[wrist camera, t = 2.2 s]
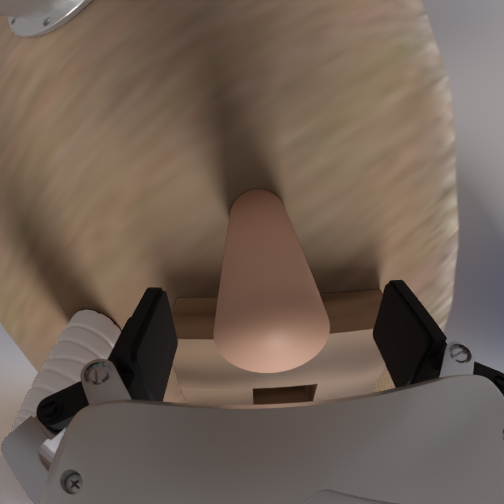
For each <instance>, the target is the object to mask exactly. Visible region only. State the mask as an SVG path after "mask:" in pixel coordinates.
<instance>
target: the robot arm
mask: <svg viewBox="0 0 504 504" xmlns="http://www.w3.org/2000/svg"><path fill="white" fill-rule="evenodd" d="M91 1H92V0H0V15H5V16H8V24H9V27H10V29H11V31H12V32H13V33H14V34H16V35H18V36H22V37H27V38H28V37H37V36H41V35H44V34H46V33H48V32H51V31H53V30H55V29H56V28H58V27H60V26H61V25H63V24H64V23H66V22H67V21H69V20H70V19H71V18H72V17H74V16H75V15H77V14H78V13H79V12H80V11H81V10H82V9H83V8H84V7H86V6H87V5H88V4H89V3H90V2H91ZM373 339H374V341H375V343H376V345H377V347H378V349H379V351H380V354H381V356H382V358H383V360H384V362H385V364H386V367H387V369H388V371H389V373H390V376H391V378H392V380H393V382H394V385H395V387H396V388H394V389H389V390H384V391H379V392H374V393H369V394H363V395H357V396H350V397H344V398H337V399H329V400H320V401H311V402H300V403H286V404H266V405H210V404H189V403H174V402H163V398H164V394H165V390H166V387H167V383H168V379H169V375H170V371H171V368H172V364H173V361H174V357H175V353H176V350H177V346H178V339H177V335H176V331H175V327H174V323H173V319H172V314H171V310H170V306H169V301H168V297H167V293H166V291H163V290H162V288H147V289H146V291H145V293H144V295H143V297H142V298H141V300H140V302H139V304H138V306H137V308H136V310H135V311H134V313H133V315H132V317H130V318H129V319H128V320H127V322H126V324H125V326H124V328H123V330H122V332H121V334H120V335H119V337H118V339H117V341H116V343H115V345H114V347H113V349H112V351H111V353H110V355H109V357H108V359H96V360H92V361H91V362H89V363H87V364H86V365H85V366H84V367H83V369H82V370H81V374H80V378H81V381H79V382H77V383H75V384H73V385H71V386H69V387H67V388H65V389H62V390H60V391H58V392H56V393H54V394H52V395H50V396H47V397H46V398H44V399H42V401H41V402H40V403H39V404H38V406H37V410H36V414H37V415H36V416H35V417H33V416H32V415H31V416H30V417H29V418H28V419H26V420H25V421H24V422H23V423H22V424H20V425H19V426H18V427H17V428H16V429H15V430H13V431H12V432H11V433H10V434H9V435H8V436H7V437H5V438H4V440H3V441H2V445H1V451H2V454H3V456H4V458H5V460H6V462H7V464H8V465H9V467H10V469H11V470H12V472H13V474H14V475H15V477H16V479H17V480H18V482H19V483H20V485H21V486H22V488H23V489H24V491H25V492H26V494H27V495H28V497H29V498H30V499H31V501H32V502H33V504H504V374H503V373H501V372H499V371H497V370H494V369H492V368H489V367H487V366H484V365H482V364H480V363H477V362H475V361H474V359H475V357H474V353H473V351H472V349H471V348H470V347H469V346H468V345H466V344H465V343H462V342H459V341H453V342H450V343H449V344H448V345H447V343H446V342H445V341H446V339H447V338H446V336H445V335H444V333H443V332H442V330H441V329H440V328H439V326H438V325H437V324H436V322H435V321H434V320H433V318H432V317H431V315H430V314H429V313H428V312H427V310H426V309H425V308H424V306H423V305H422V304H421V302H420V301H419V300H418V299H417V297H416V296H415V295H414V293H413V292H412V291H411V290H410V288H409V287H408V286H407V285H406V284H405V282H404V281H403V280H392V281H389V283H388V284H386V286H385V289H384V293H383V297H382V300H381V304H380V308H379V311H378V315H377V318H376V322H375V325H374V329H373Z"/></svg>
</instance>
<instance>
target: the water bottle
mask: <svg viewBox="0 0 504 504" xmlns="http://www.w3.org/2000/svg"><path fill="white" fill-rule="evenodd" d="M120 334H121V330H120V329H119V328H118V326H117V325H115V324H114V323H113V321H112V320H111V319H109V318H108V317H106V316H105V315H103V314H100V313H99V314H98V313H97V312H96V311H93V310H83V311H82V310H81V311H78V312H77V313H75V314H74V316H73V317H72V319H71V320H70V322H69V323H68V324H67V326H66V328H65V330H64V331H63V332H62V334H61V335H60V337H59V339H58V341H57V344H55V345H54V347H53V348H52V350H51V351H50V353H49V356H48V359H47V360H45V362H44V363H43V365H42V367H41V371H40V372H39V373H38V374H37V376H36V377H35V380H34V381H33V384H32V388H31V389H30V390H29V391H28V392H27V395H26V396H25V398H24V401H23V403H22V406H21V410H19V412H18V414H17V416H18V417H16V418H15V420H14V425H12V427H11V432H12V431H13V430H15V429H16V428H17V427H18V426H19V425H20V424H22V423H23V422H24V421H25V420H26V419H28V418H29V417H30V416H31V415H32V416H33V417H35V416H36V415H37V414H36V410H37V406H38V404H39V403H40V402H41V401H42V399H44V398H46V397H47V396H50V395H52V394H54V393H56V392H58V391H60V390H62V389H65V388H67V387H69V386H71V385H73V384H75V383H77V382H79V381H81V378H80V374H81V370H82V369H83V367H84V366H85V365H86V364H87V363H89V362H91V361H92V360H96V359H108V357H109V355H110V353H111V351H112V349H113V347H114V345H115V343H116V341H117V339H118V337H119V335H120ZM11 432H10V433H11ZM10 433H9V434H10ZM9 434H8V435H9ZM0 504H33V502H32V501H31V499H30V498H29V497H28V495H27V494H26V492H25V491H24V489H23V488H22V486H21V485H20V483H19V482H18V480H17V479H16V477H15V475H14V474H13V472H12V470H11V469H10V467H9V465H8V464H7V462H6V460H5V458H4V456H3V454H2V455H1V456H0Z"/></svg>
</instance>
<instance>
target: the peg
mask: <svg viewBox="0 0 504 504" xmlns="http://www.w3.org/2000/svg"><path fill="white" fill-rule="evenodd" d="M329 332H330V323H329V319H328V315H327V313H326V310H325V307H324V305H323V302H322V299H321V297H320V294H319V291H318V289H317V286H316V284H315V281H314V278H313V276H312V273H311V271H310V268H309V266H308V263H307V261H306V258H305V256H304V253H303V251H302V248H301V246H300V243H299V241H298V238H297V236H296V233H295V231H294V229H293V226H292V224H291V221H290V219H289V217H288V214H287V212H286V210H285V207H284V205H283V203H282V201H281V200H280V199H279V198H278V197H277V196H276V195H275V194H273V193H272V192H269V191H266V190H262V189H255V190H250V191H247V192H245V193H243V194H241V195H240V196H239V197H238V198H237V199H236V200H235V201H234V203H233V205H232V207H231V210H230V217H229V223H228V230H227V237H226V244H225V250H224V257H223V264H222V272H221V279H220V286H219V294H218V301H217V309H216V317H215V325H214V333H213V335H214V342H215V345H216V348H217V350H218V351H219V353H220V354H221V355H222V356H223V357H224V358H225V359H226V360H227V361H228V362H230V363H231V364H233V365H235V366H237V367H239V368H241V369H244V370H248V371H252V372H258V373H276V372H282V371H287V370H291V369H293V368H296V367H299V366H301V365H303V364H305V363H306V362H308V361H309V360H311V359H312V358H314V357H315V356H316V355H317V354H318V353H319V352H320V351H321V349H322V348H323V347H324V345H325V344H326V341H327V339H328V336H329Z"/></svg>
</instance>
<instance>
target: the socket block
mask: <svg viewBox="0 0 504 504" xmlns="http://www.w3.org/2000/svg"><path fill="white" fill-rule="evenodd" d="M319 294H320V297H321V299H322V302H323V305H324V307H325V310H326V313H327V315H328V319H329V323H330V332H329V336H328V339H327V341H326V344H325V345H324V347H323V348H322V349H321V351H320V352H319V353H318V354H317V355H316V356H315V357H314V358H312V359H311V360H309V361H308V362H306V363H305V364H303V365H301V366H299V367H296V368H293V369H291V370H287V371H282V372H276V373H258V372H252V371H248V370H244V369H241V368H239V367H237V366H235V365H233V364H231V363H230V362H228V361H227V360H226V359H225V358H224V357H223V356H222V355H221V354H220V353H219V351H218V350H217V348H216V345H215V342H214V335H213V333H214V325H215V317H216V309H217V301H218V297H213V298H177V299H176V302H175V305H174V308H173V311H172V319H173V323H174V327H175V331H176V335H177V339H178V346H177V350H176V353H175V357H174V361H173V367H174V370H175V373H176V376H177V378H178V381H179V384H180V386H181V389H182V392H183V394H184V397H185V400H186V402H187V403H189V404H210V405H266V404H286V403H300V402H311V401H320V400H329V399H337V398H344V397H350V396H357V395H363V394H369V393H372V392H373V390H374V388H375V386H376V384H377V382H378V380H379V378H380V376H381V374H382V372H383V370H384V367H385V365H386V364H385V362H384V360H383V358H382V356H381V354H380V351H379V349H378V347H377V345H376V343H375V341H374V339H373V329H374V325H375V322H376V318H377V315H378V311H379V308H380V304H381V300H382V297H383V293H382V291H381V290H380V289H372V290H360V291H347V292H333V293H319Z"/></svg>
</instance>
